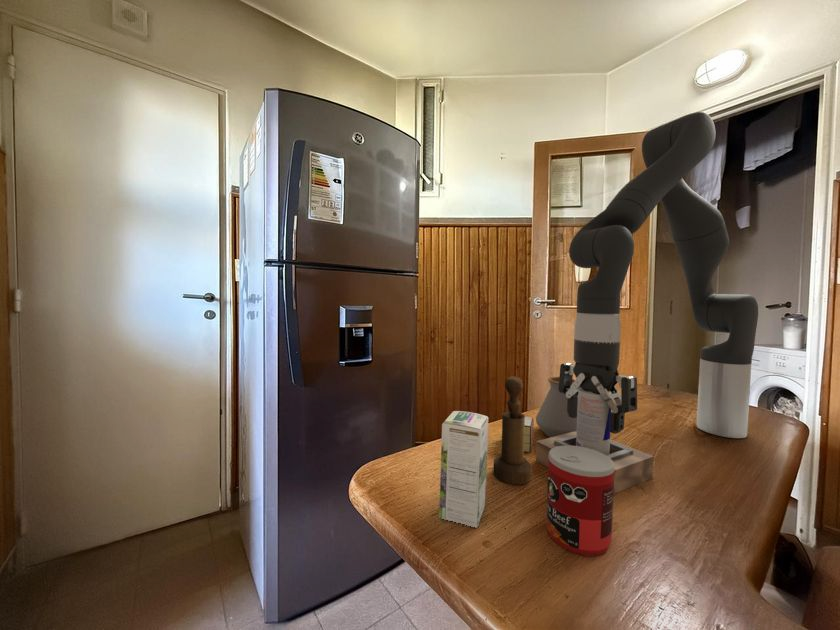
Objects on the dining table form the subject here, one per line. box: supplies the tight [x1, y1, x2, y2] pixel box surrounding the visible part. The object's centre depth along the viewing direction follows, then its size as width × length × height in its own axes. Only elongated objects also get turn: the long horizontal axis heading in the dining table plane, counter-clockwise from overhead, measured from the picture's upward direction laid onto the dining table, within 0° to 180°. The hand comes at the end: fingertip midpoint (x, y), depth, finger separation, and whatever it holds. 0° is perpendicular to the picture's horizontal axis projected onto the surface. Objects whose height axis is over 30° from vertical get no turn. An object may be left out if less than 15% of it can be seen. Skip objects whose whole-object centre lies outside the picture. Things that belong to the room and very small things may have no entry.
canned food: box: [545, 445, 615, 557], centre depth 46 cm, size 8×8×11 cm
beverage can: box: [576, 388, 612, 455], centre depth 64 cm, size 6×6×15 cm
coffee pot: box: [535, 376, 577, 438], centre depth 83 cm, size 21×12×15 cm, turn 127°
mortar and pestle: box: [492, 375, 532, 486], centre depth 61 cm, size 7×6×18 cm
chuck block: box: [535, 431, 654, 495], centre depth 64 cm, size 14×14×5 cm
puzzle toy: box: [524, 416, 535, 453], centre depth 74 cm, size 6×6×6 cm
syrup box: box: [438, 410, 489, 529], centre depth 50 cm, size 6×6×14 cm
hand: (593, 424), depth 64 cm, fingers open, 8 cm apart
